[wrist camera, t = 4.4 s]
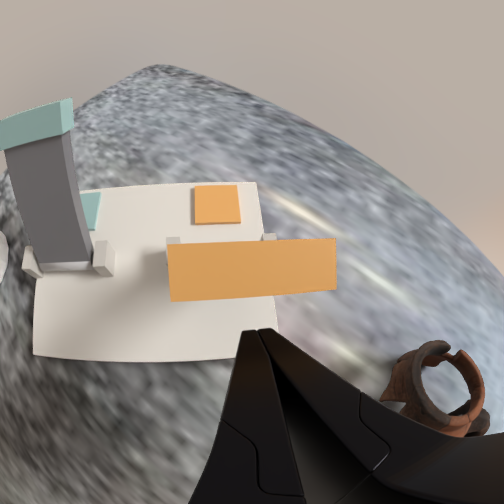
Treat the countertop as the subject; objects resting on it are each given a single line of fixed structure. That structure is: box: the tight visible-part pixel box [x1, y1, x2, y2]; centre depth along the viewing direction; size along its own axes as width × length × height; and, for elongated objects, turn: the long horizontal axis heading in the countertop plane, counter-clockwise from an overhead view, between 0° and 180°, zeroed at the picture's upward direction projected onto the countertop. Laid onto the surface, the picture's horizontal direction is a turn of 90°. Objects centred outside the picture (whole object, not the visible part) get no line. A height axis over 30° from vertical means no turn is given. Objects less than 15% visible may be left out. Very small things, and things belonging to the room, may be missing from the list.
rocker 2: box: [167, 238, 336, 302], centre depth 12 cm, size 1×4×10 cm, turn 97°
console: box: [22, 182, 279, 362], centre depth 16 cm, size 12×16×4 cm
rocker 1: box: [0, 97, 95, 271], centre depth 11 cm, size 1×4×10 cm, turn 97°
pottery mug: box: [379, 340, 490, 438], centre depth 14 cm, size 12×10×8 cm
